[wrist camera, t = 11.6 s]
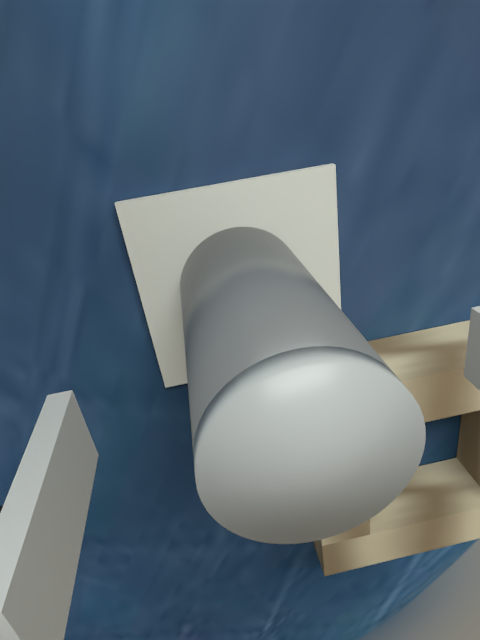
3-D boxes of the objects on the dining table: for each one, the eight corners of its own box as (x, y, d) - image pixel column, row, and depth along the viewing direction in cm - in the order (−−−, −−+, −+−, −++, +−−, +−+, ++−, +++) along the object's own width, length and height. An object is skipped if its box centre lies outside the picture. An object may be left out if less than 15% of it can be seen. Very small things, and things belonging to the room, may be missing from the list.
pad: (165, 383, 24) (165, 387, 24) (115, 201, 19) (114, 203, 19) (340, 347, 25) (342, 350, 24) (332, 163, 20) (335, 164, 20)
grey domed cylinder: (192, 349, 23) (217, 564, 12) (168, 239, 20) (171, 395, 9) (303, 326, 23) (419, 516, 13) (294, 216, 20) (433, 340, 10)
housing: (306, 521, 31) (324, 576, 27) (288, 357, 24) (309, 401, 21) (491, 478, 32) (531, 525, 28) (521, 309, 25) (578, 343, 22)
